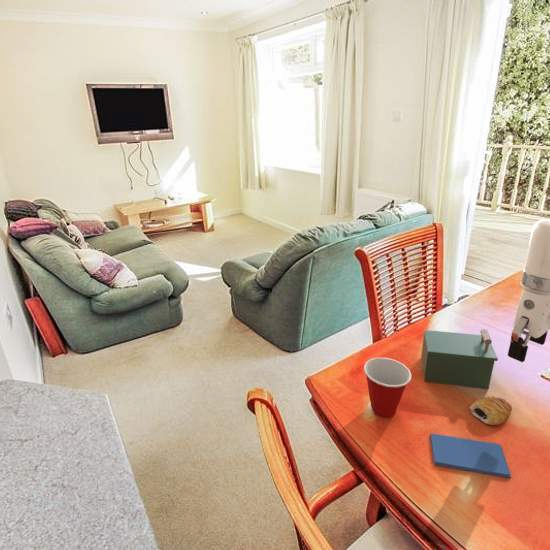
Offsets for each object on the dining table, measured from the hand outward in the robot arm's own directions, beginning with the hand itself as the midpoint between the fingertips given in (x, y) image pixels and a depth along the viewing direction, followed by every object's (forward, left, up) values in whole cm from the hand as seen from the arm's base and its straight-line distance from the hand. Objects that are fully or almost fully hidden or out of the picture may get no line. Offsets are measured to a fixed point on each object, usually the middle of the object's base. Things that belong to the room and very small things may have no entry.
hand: (526, 350), depth 83 cm
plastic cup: (+29, +7, -17) cm, 35 cm away
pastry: (+5, +3, -17) cm, 18 cm away
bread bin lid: (+11, -11, -8) cm, 18 cm away
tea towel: (+12, +17, -17) cm, 27 cm away
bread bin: (+11, -11, -17) cm, 23 cm away
